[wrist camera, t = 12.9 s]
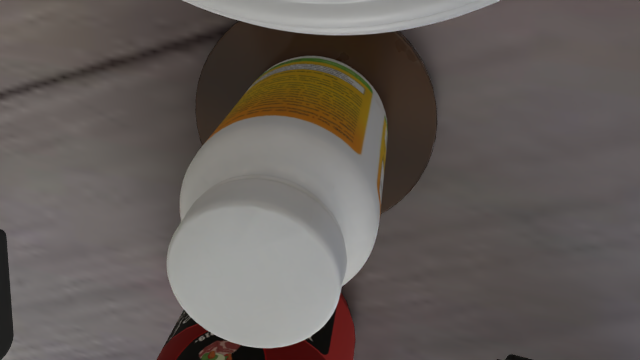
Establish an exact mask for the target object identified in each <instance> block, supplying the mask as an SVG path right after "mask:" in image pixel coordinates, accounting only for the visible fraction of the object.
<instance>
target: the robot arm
mask: <svg viewBox="0 0 640 360" xmlns="http://www.w3.org/2000/svg"><path fill="white" fill-rule="evenodd" d="M12 341H13V322H12V308H11V294H10V280H9V267H8V253H7V239H6V233H5V232H4V231H3V230H1V229H0V360H1V359H2V358H3V357H4V356H5V355H6V353H7V352H8V350H9V349H10V347H11V344H12ZM497 360H499V359H497ZM505 360H532V359H528V358H524V357H520V356H516V355H513V354H510V355H508V356H507V358H506V359H505Z"/></svg>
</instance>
